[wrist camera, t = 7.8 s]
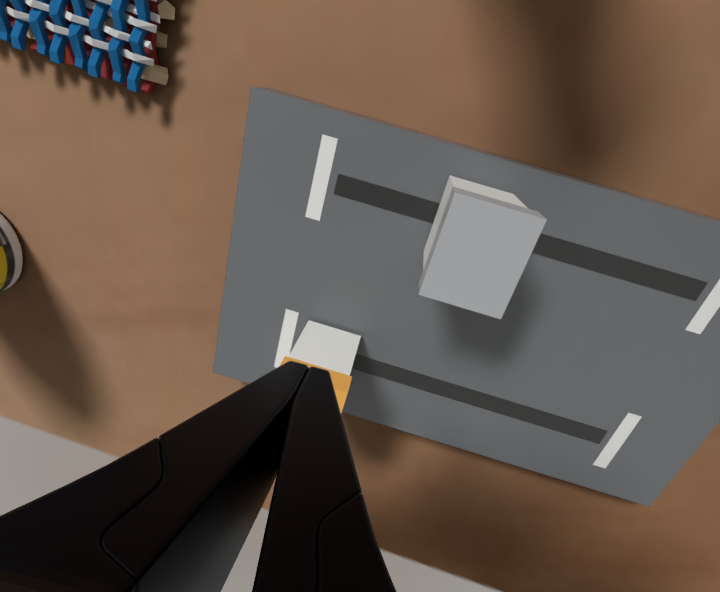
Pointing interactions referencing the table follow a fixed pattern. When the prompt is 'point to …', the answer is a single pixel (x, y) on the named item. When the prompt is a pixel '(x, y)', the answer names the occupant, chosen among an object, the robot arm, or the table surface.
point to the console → (469, 328)
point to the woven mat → (94, 36)
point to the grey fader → (478, 247)
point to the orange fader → (327, 354)
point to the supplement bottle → (9, 255)
